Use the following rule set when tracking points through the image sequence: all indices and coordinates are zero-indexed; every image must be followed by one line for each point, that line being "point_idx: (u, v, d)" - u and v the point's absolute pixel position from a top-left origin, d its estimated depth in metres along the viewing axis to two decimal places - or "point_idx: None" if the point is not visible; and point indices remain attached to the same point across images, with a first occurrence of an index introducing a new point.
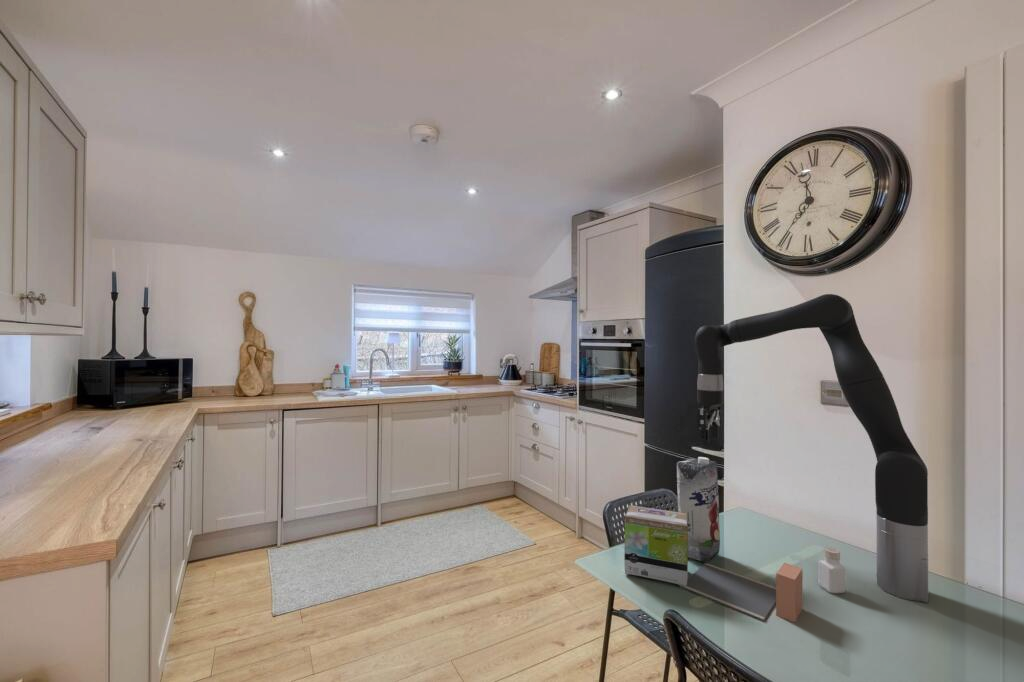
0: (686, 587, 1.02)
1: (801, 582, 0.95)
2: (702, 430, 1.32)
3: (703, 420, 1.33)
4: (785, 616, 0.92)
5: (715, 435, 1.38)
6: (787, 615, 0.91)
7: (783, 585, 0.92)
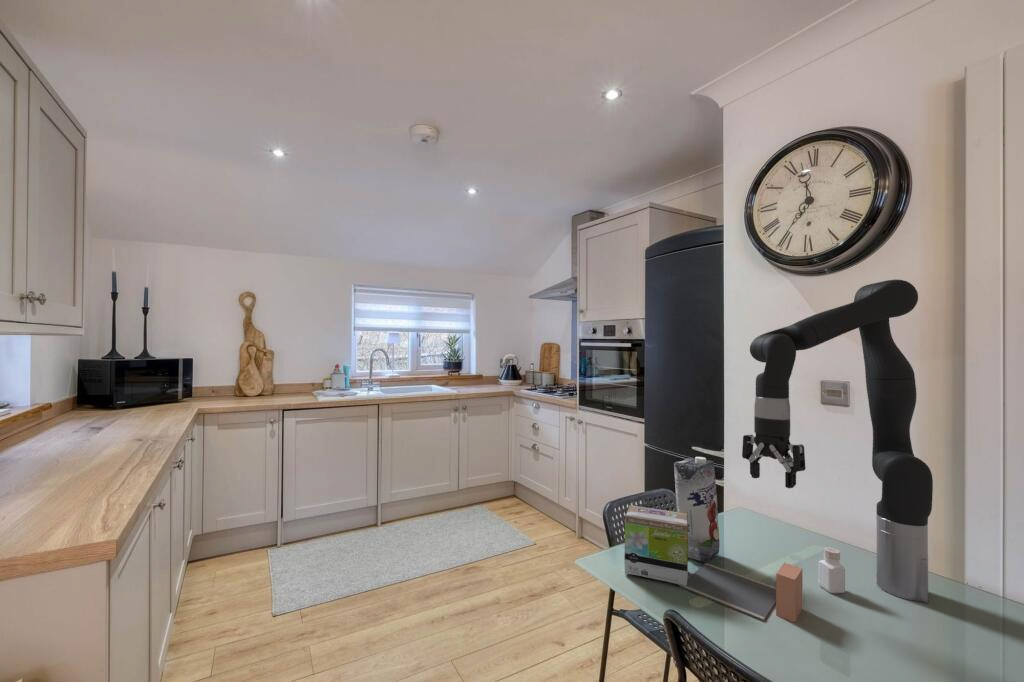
0: (686, 587, 1.02)
1: (801, 582, 0.95)
2: (793, 473, 0.99)
3: (787, 460, 1.00)
4: (785, 616, 0.92)
5: (757, 474, 1.08)
6: (787, 615, 0.91)
7: (783, 585, 0.92)
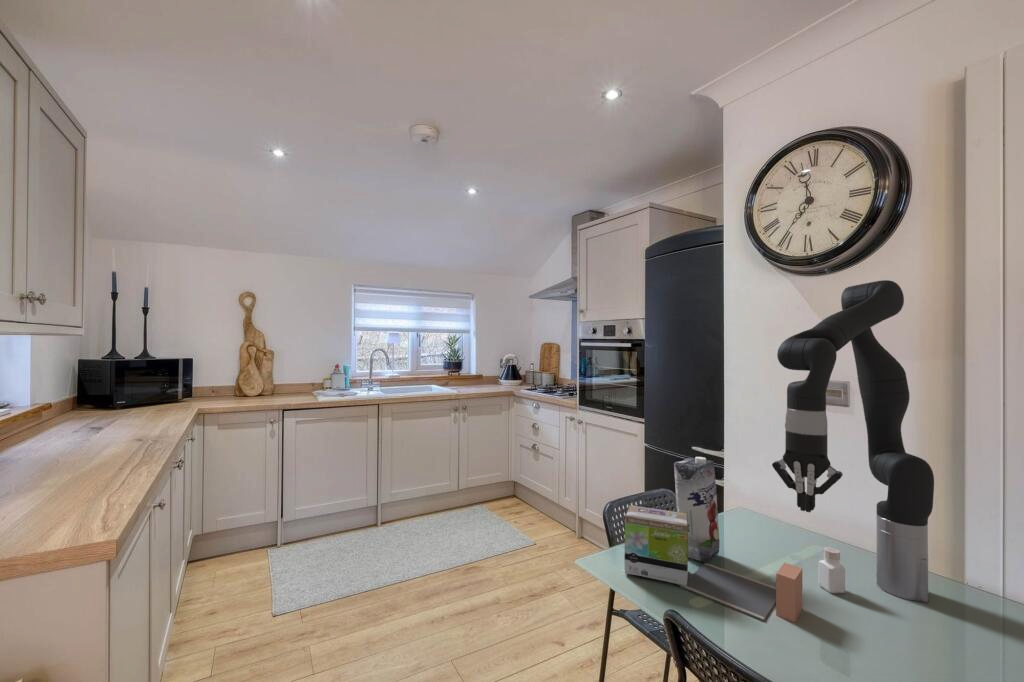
0: (686, 587, 1.02)
1: (801, 582, 0.95)
2: (814, 496, 0.91)
3: (814, 483, 0.91)
4: (785, 616, 0.92)
5: (805, 505, 0.93)
6: (787, 615, 0.91)
7: (783, 585, 0.92)
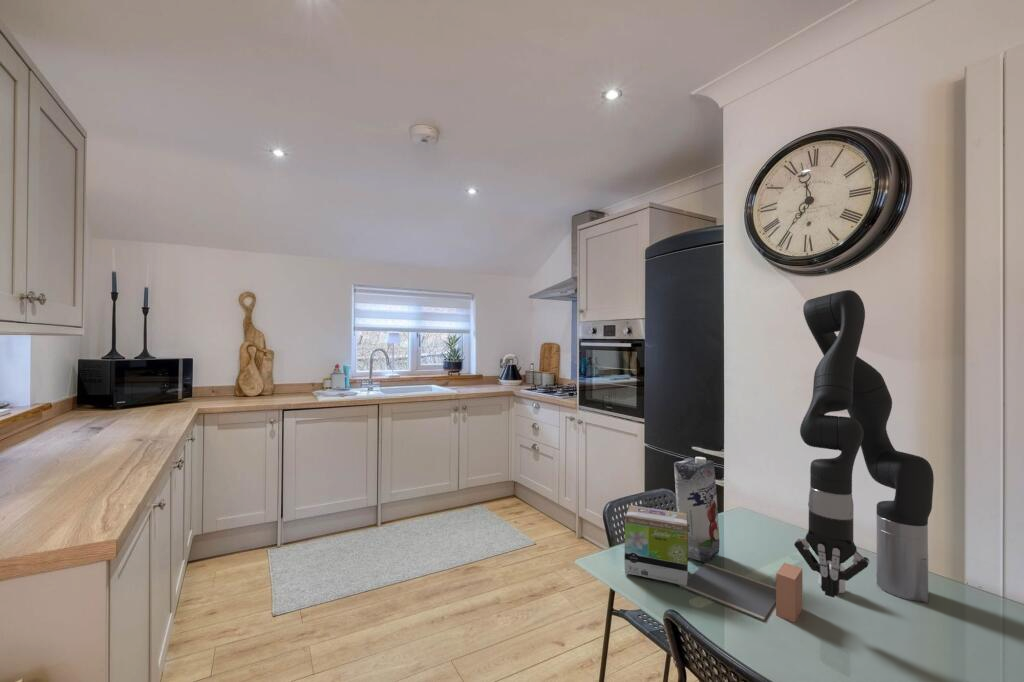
0: (686, 587, 1.02)
1: (801, 582, 0.95)
2: (838, 581, 0.88)
3: (839, 567, 0.88)
4: (785, 616, 0.92)
5: None
6: (787, 615, 0.91)
7: (783, 585, 0.92)
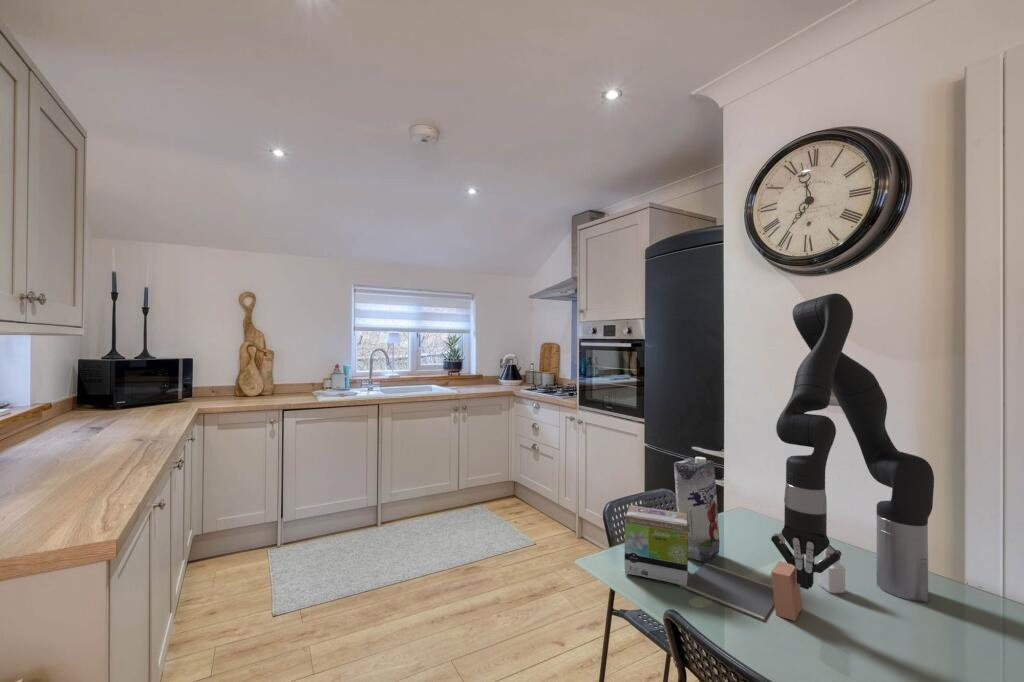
0: (686, 587, 1.02)
1: None
2: (812, 573, 0.91)
3: (813, 560, 0.91)
4: (785, 615, 0.92)
5: None
6: (786, 614, 0.91)
7: (779, 583, 0.93)
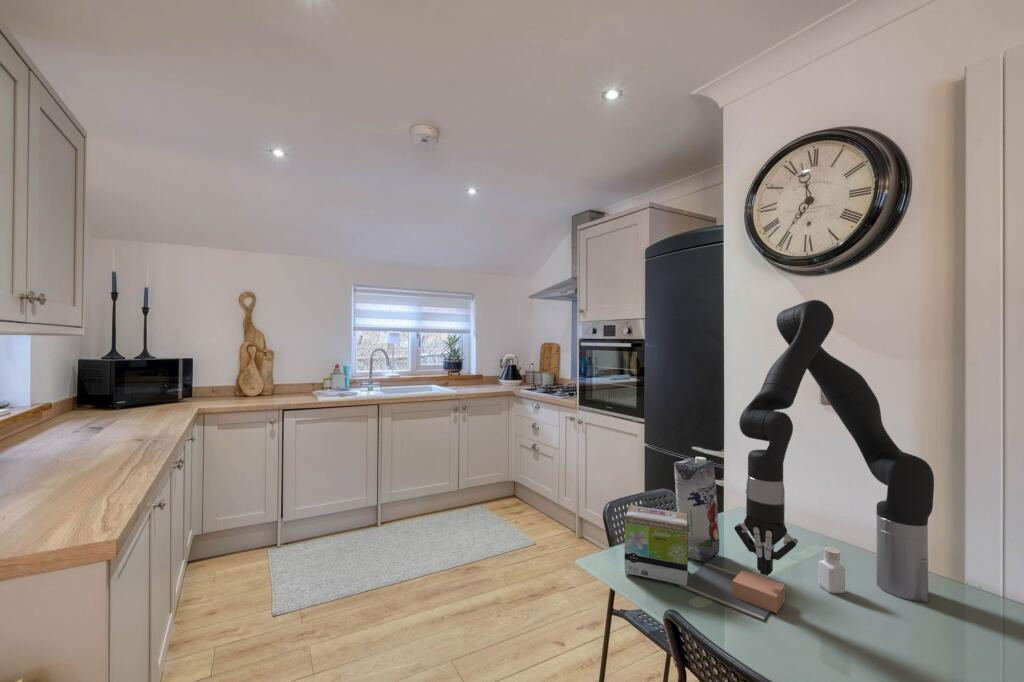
0: (686, 587, 1.02)
1: (753, 576, 1.01)
2: (771, 560, 0.96)
3: (772, 548, 0.96)
4: (773, 604, 0.93)
5: None
6: (771, 601, 0.93)
7: (741, 593, 0.98)
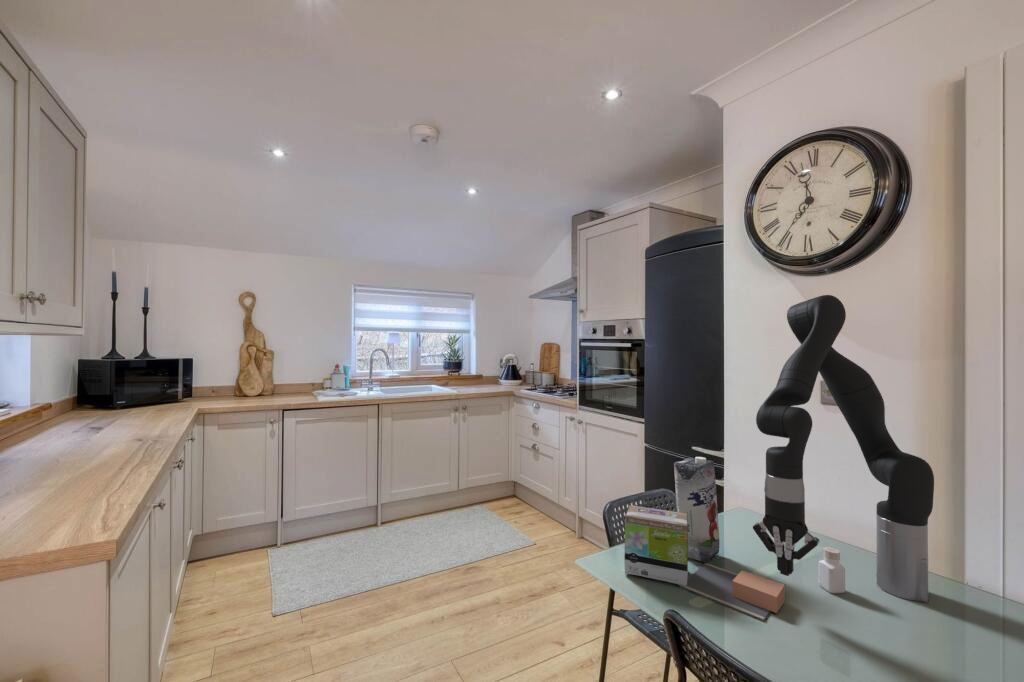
0: (686, 587, 1.02)
1: (753, 576, 1.01)
2: (792, 560, 0.94)
3: (792, 547, 0.94)
4: (773, 604, 0.93)
5: None
6: (771, 601, 0.93)
7: (741, 593, 0.98)
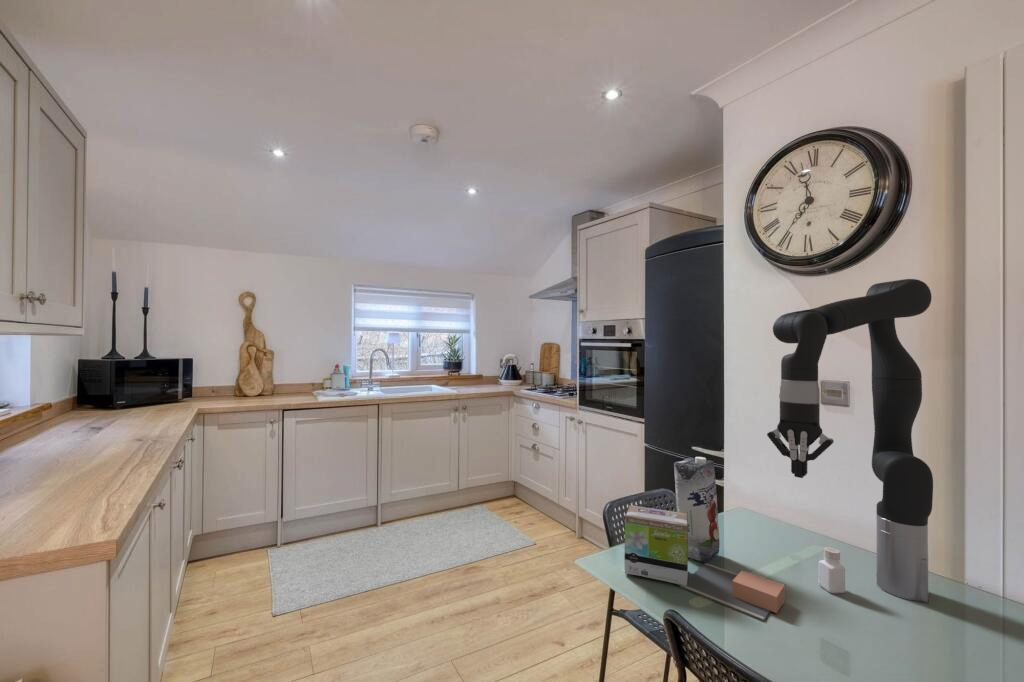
0: (686, 587, 1.02)
1: (753, 576, 1.01)
2: (806, 462, 0.96)
3: (807, 450, 0.95)
4: (773, 604, 0.93)
5: None
6: (771, 601, 0.93)
7: (741, 593, 0.98)
